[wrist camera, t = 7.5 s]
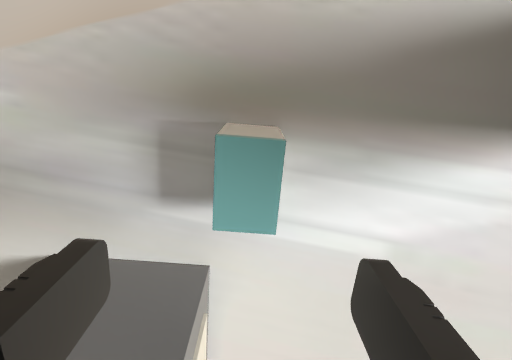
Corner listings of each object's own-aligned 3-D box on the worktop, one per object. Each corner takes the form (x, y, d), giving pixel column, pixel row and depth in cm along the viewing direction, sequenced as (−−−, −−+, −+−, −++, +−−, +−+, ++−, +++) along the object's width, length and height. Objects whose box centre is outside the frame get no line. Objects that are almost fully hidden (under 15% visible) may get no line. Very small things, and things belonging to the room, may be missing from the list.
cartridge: (278, 126, 21) (286, 141, 16) (271, 198, 23) (275, 234, 18) (226, 122, 21) (215, 135, 16) (223, 195, 23) (212, 230, 18)
